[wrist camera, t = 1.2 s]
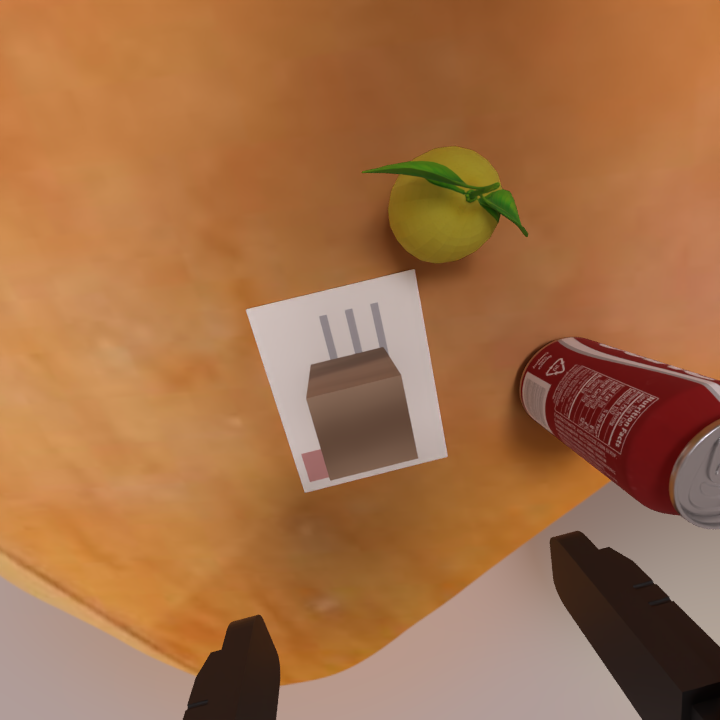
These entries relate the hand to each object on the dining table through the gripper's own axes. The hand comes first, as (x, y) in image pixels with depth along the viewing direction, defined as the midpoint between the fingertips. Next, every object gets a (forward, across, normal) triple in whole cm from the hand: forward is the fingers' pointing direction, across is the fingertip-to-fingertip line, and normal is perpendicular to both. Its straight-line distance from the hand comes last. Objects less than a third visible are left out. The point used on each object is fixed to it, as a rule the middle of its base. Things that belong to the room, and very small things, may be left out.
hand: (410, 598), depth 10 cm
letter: (+16, 0, 0) cm, 16 cm away
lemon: (+16, -6, -10) cm, 20 cm away
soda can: (+16, -14, +3) cm, 22 cm away
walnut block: (+16, 0, 0) cm, 16 cm away
